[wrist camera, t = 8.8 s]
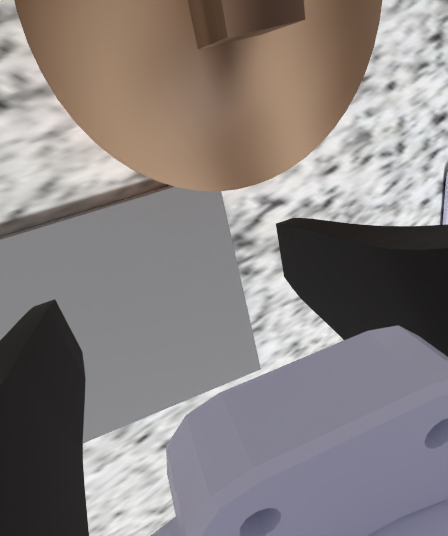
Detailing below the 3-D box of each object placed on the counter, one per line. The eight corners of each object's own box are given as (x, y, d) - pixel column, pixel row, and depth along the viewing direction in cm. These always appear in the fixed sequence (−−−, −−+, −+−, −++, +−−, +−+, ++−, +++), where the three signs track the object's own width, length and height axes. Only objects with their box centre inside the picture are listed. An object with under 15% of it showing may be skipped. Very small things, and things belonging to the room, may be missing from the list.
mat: (214, 172, 21) (217, 174, 21) (257, 364, 28) (260, 369, 28) (-67, 256, 19) (-71, 261, 18) (59, 445, 26) (59, 453, 25)
